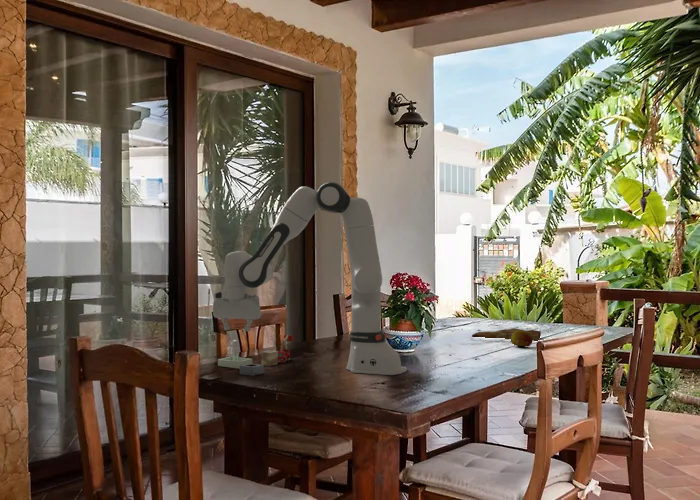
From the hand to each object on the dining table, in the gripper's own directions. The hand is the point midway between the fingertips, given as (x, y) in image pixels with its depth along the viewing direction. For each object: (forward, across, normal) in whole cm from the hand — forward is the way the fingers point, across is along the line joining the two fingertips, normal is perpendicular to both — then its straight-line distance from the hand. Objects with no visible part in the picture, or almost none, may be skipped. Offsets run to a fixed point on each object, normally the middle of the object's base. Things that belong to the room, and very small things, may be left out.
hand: (237, 330), depth 264 cm
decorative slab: (+18, -65, -135) cm, 150 cm away
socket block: (+14, -14, +10) cm, 22 cm away
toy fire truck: (+14, -8, -20) cm, 25 cm away
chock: (+14, -8, -9) cm, 18 cm away
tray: (+13, +1, 0) cm, 13 cm away
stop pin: (+13, +1, 0) cm, 13 cm away
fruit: (+17, -79, -109) cm, 135 cm away
